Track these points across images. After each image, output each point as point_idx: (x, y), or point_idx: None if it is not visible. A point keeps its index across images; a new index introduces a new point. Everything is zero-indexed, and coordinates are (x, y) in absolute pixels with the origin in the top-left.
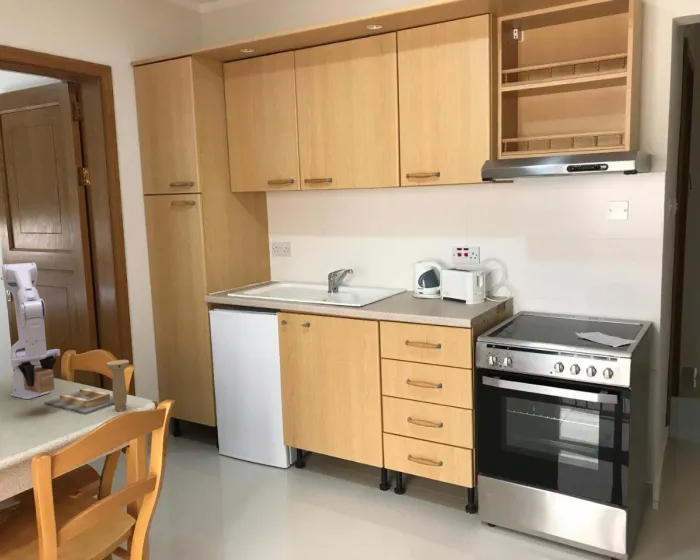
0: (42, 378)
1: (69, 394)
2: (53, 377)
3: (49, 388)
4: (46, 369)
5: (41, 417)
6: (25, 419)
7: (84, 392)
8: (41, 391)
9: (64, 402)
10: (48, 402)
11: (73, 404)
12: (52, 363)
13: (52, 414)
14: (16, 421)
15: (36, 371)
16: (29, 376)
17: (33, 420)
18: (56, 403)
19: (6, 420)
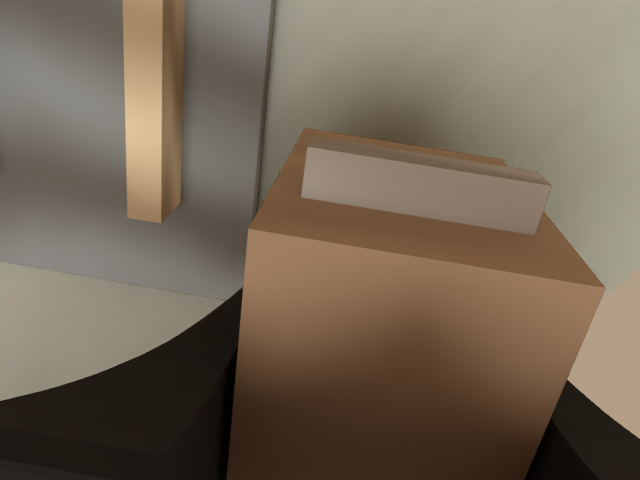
0: (543, 192)
1: (39, 261)
2: (315, 138)
3: (374, 145)
4: (272, 381)
5: (496, 75)
6: (567, 166)
7: None
8: (490, 162)
9: (184, 146)
10: (240, 266)
11: (185, 18)
12: (109, 403)
13: (406, 44)
14: (622, 196)
15: (452, 447)
16: (604, 419)
17: (578, 80)
18: (229, 191)
19: (611, 282)
